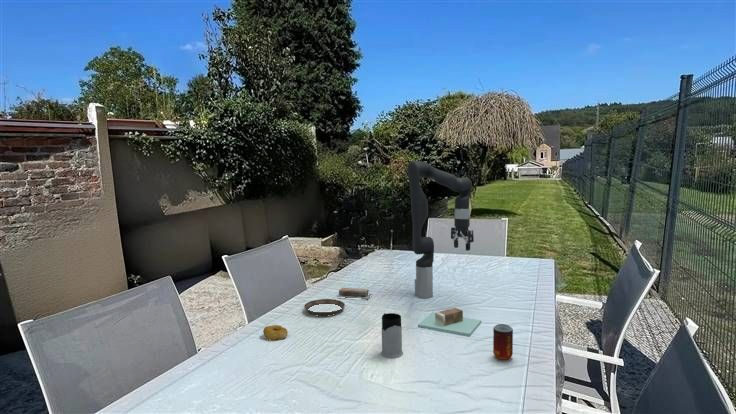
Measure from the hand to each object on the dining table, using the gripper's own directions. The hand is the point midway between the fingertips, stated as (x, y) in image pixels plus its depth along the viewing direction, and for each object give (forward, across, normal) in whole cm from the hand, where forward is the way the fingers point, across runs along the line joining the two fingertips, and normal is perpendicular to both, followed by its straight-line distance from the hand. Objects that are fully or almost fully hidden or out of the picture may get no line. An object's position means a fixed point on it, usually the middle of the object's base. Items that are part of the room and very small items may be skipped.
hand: (461, 249), depth 222 cm
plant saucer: (+31, -34, -62) cm, 77 cm away
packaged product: (+31, -46, -38) cm, 67 cm away
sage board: (+30, +16, -22) cm, 41 cm away
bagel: (+30, -15, -94) cm, 100 cm away
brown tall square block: (+26, +16, -16) cm, 35 cm away
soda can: (+30, +53, -27) cm, 67 cm away
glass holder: (+30, +24, -60) cm, 71 cm away
